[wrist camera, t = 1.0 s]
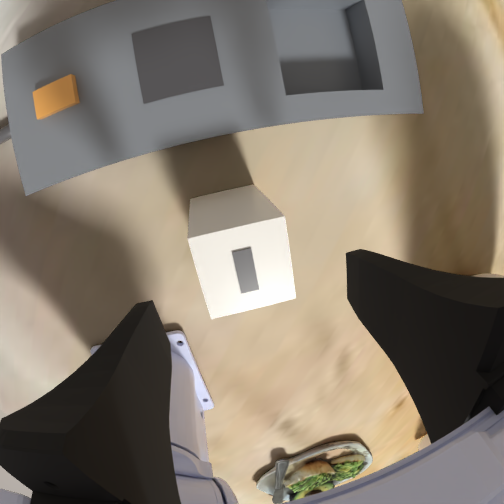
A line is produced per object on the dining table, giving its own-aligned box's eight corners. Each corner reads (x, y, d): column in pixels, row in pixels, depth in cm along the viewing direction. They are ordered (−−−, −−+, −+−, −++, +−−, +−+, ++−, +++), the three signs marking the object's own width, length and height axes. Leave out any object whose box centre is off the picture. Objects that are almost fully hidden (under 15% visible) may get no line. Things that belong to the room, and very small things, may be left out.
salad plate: (221, 469, 32) (225, 498, 28) (349, 415, 31) (363, 444, 27) (280, 498, 40) (286, 519, 36) (374, 458, 40) (384, 478, 35)
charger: (264, 242, 20) (296, 298, 14) (205, 257, 20) (211, 320, 14) (253, 184, 19) (285, 216, 12) (190, 198, 18) (187, 239, 12)
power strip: (374, -2, 14) (402, -16, 11) (396, 112, 18) (429, 113, 15) (-22, 90, 12) (-52, 89, 9) (1, 205, 16) (-27, 221, 12)
